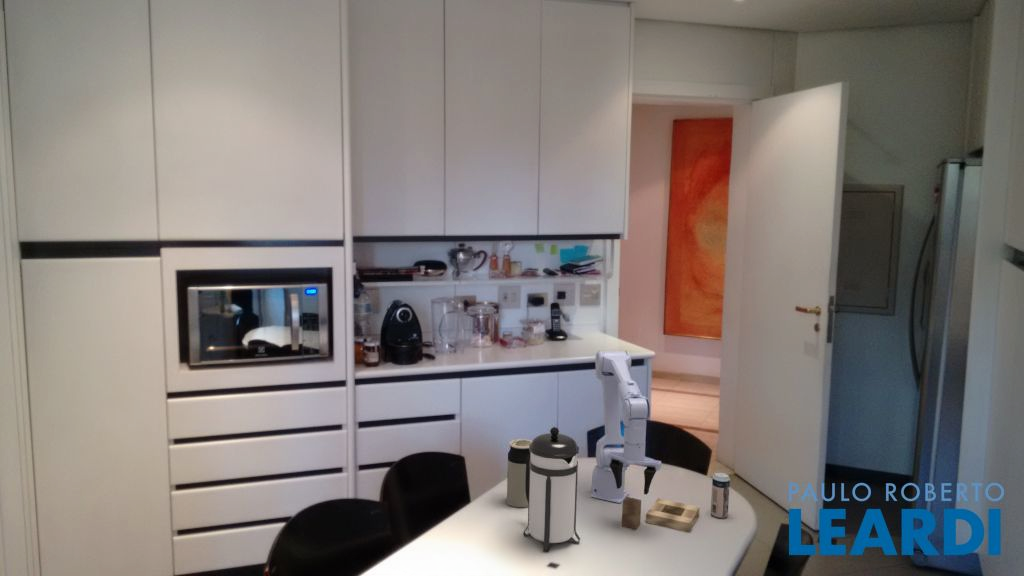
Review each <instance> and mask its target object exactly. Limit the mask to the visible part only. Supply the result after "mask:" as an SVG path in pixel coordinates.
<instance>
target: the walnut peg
mask: <svg viewBox="0 0 1024 576" xmlns="http://www.w3.org/2000/svg"><path fill="white" fill-rule="evenodd" d="M641 510H642V499H638V498H634V497H629V496H627V497H626V498H625V499H624V500H623V501H622V509H621V511H622V512H621V513H622V516H621V527H622V528H626V529H629V530H633V529H634V531H636V530H637V529H638V528H639V527H640V525H641V518H642V517H641V516H642V515H641V513H642V511H641Z"/></svg>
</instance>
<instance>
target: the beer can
mask: <svg viewBox="0 0 1024 576" xmlns="http://www.w3.org/2000/svg"><path fill="white" fill-rule="evenodd" d="M730 483H731V478H730V476H729V474H727V473H725V472H722V471H721V472H720V471H719V472H717V471H716V472H714V473H713V475H712V479H711V500H710V501H711V502H710V515H712V516H713V517H715V518H717V519H724V518H726V517H728V516H729V504H730V503H729V499H730V487H731V486H730Z"/></svg>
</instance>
